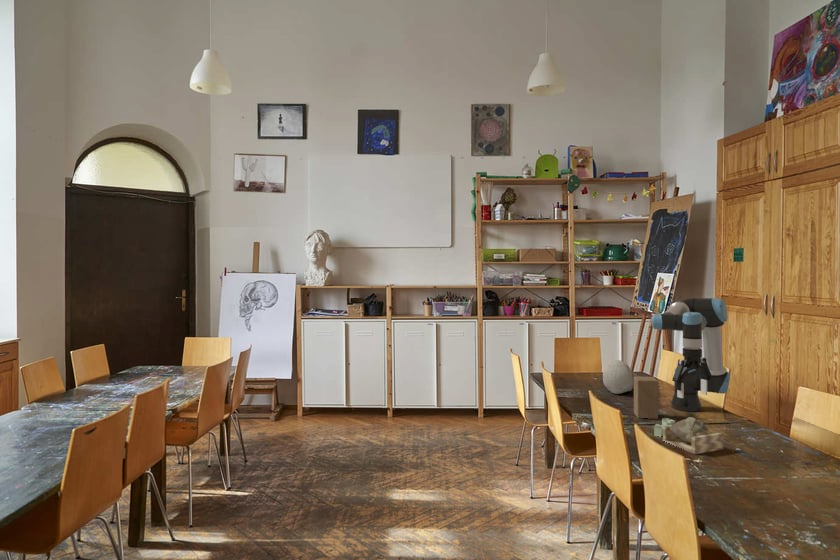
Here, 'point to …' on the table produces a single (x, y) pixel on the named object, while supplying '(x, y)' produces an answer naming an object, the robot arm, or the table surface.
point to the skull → (618, 377)
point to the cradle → (695, 441)
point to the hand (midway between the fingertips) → (692, 395)
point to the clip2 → (658, 430)
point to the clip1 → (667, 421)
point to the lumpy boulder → (689, 429)
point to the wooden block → (646, 397)
